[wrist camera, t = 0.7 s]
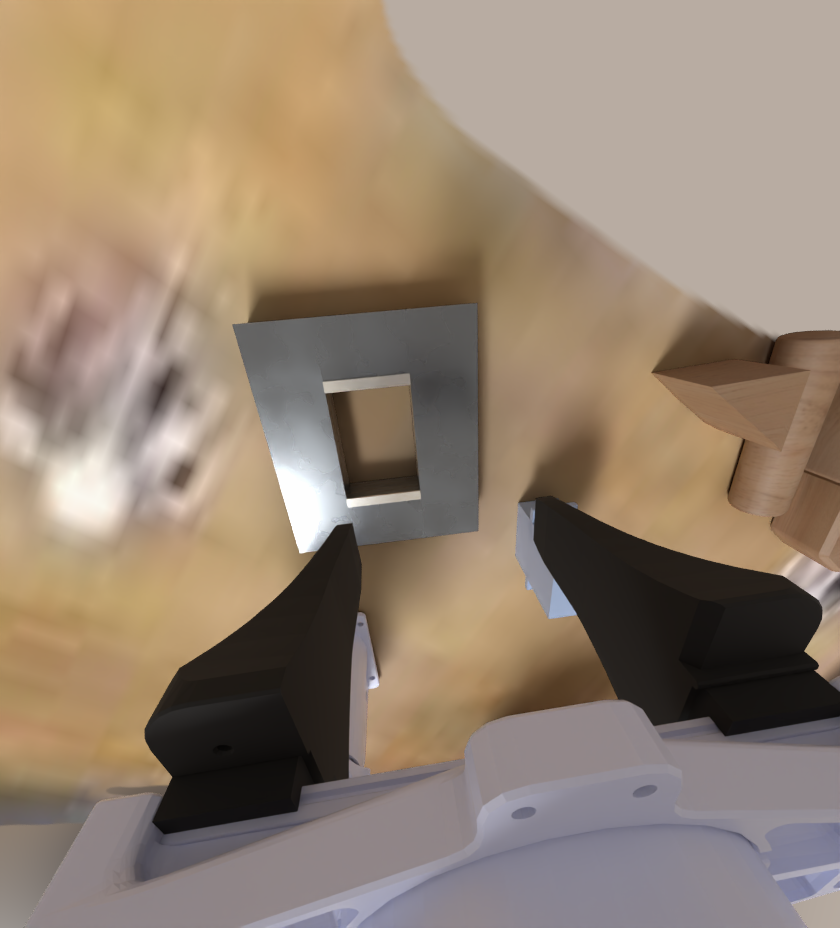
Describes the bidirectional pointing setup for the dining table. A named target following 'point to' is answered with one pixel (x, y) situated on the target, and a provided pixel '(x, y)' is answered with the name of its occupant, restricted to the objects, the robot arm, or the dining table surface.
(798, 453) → the wooden block set
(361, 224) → the dining table surface
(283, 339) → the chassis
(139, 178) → the dining table surface
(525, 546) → the block
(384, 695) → the dining table surface
